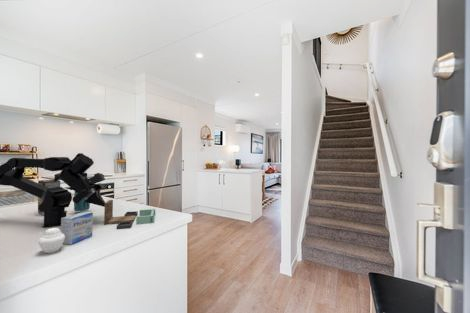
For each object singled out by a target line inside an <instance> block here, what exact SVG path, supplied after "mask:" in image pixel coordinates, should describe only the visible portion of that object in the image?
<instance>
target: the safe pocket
mask: <svg viewBox="0 0 470 313" xmlns="http://www.w3.org/2000/svg"><path fill="white" fill-rule="evenodd" d="M155 216H156V208H149V209H139V216H138V215H137V216H136V218H135V221H136V222H135V223H136V225H140V224H143V225H144V224H153V223H155Z"/></svg>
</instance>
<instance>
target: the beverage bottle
mask: <svg viewBox="0 0 470 313" xmlns="http://www.w3.org/2000/svg"><path fill="white" fill-rule="evenodd" d="M80 175H81V176H82V177H87V178H88V172H84V173H83V174H80ZM73 191H74V190H73ZM73 193H74V196H75V195H77V194H78V193H77V192H76V191H74V192H73ZM74 196H73V197H74ZM85 200H86V197H85V198H83V199H82V200H81V201H80V203H78V204H75V203H74V202H73V210H74V211H75V212H86V211H88V210H90V205H91V203H87V202H84V201H85Z"/></svg>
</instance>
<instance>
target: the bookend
mask: <svg viewBox="0 0 470 313" xmlns="http://www.w3.org/2000/svg"><path fill="white" fill-rule="evenodd" d="M113 202H114V200H113V199H108V200H107V201H105V207H104V211H103V212H104V214H103V215H104V218H103V223H104V226H105V225H108V224H109V225H118V223H119V222H129V221H133V223H134V222H135V221H136V217H137V216H136V215H135V216H125V215H122V216H121V215H120V216H113V211H114V210H113V209H114V208H113V207H114V205H113V204H114V203H113Z"/></svg>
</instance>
